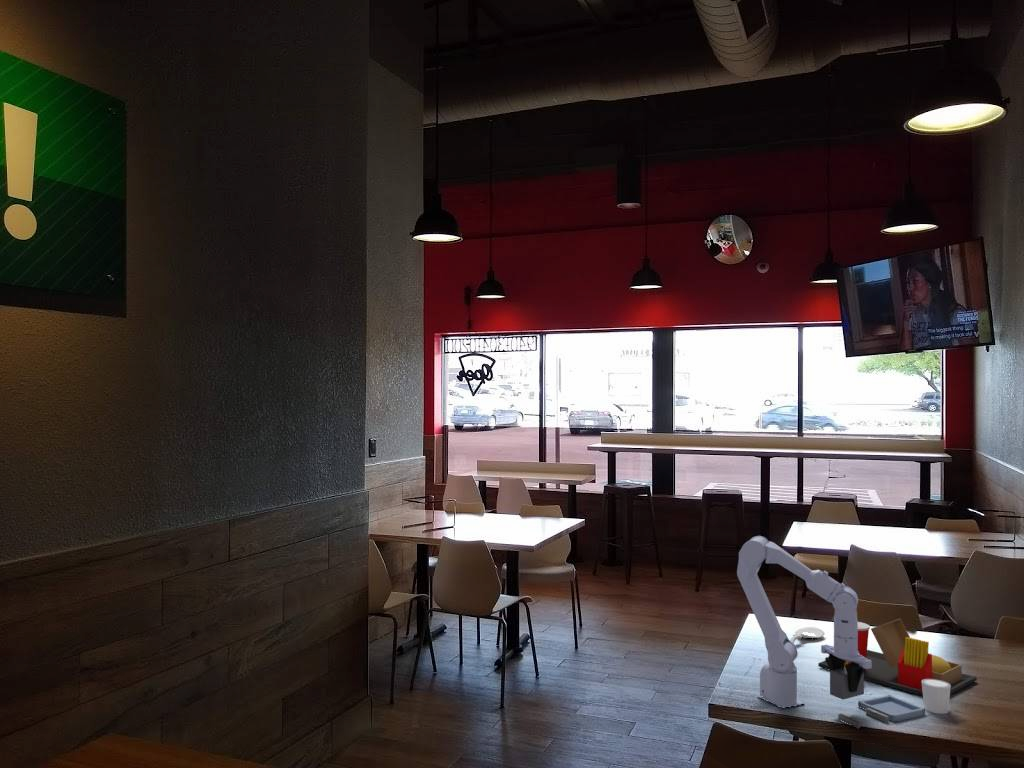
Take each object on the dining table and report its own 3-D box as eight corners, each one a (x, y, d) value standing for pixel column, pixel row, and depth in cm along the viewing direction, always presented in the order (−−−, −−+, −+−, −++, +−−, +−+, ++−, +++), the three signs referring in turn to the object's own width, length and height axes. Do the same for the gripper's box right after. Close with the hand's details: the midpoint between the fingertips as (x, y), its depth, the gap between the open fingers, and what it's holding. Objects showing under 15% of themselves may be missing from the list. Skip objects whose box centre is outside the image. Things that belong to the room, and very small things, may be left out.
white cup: (941, 704, 210) (941, 678, 210) (956, 714, 203) (956, 687, 203) (916, 704, 209) (916, 678, 210) (930, 714, 202) (930, 687, 203)
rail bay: (838, 720, 198) (838, 714, 198) (868, 713, 202) (868, 707, 203) (857, 729, 192) (857, 722, 193) (888, 722, 197) (888, 716, 197)
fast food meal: (939, 703, 211) (939, 634, 212) (818, 669, 238) (818, 608, 239) (976, 683, 227) (976, 619, 228) (859, 653, 254) (859, 596, 255)
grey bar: (829, 694, 203) (829, 671, 203) (850, 689, 207) (850, 666, 207) (843, 699, 199) (842, 675, 199) (863, 694, 203) (863, 670, 203)
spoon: (766, 652, 254) (766, 641, 254) (802, 632, 278) (802, 622, 279) (793, 658, 248) (793, 647, 249) (828, 637, 273) (828, 627, 273)
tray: (858, 707, 207) (858, 701, 207) (889, 700, 212) (889, 695, 212) (893, 722, 197) (893, 716, 197) (925, 714, 202) (925, 709, 202)
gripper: (880, 641, 198) (880, 695, 198) (834, 626, 211) (834, 677, 211) (860, 644, 195) (860, 699, 195) (815, 629, 208) (815, 681, 208)
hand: (845, 688), depth 203 cm, fingers closed on grey bar, 4 cm apart
